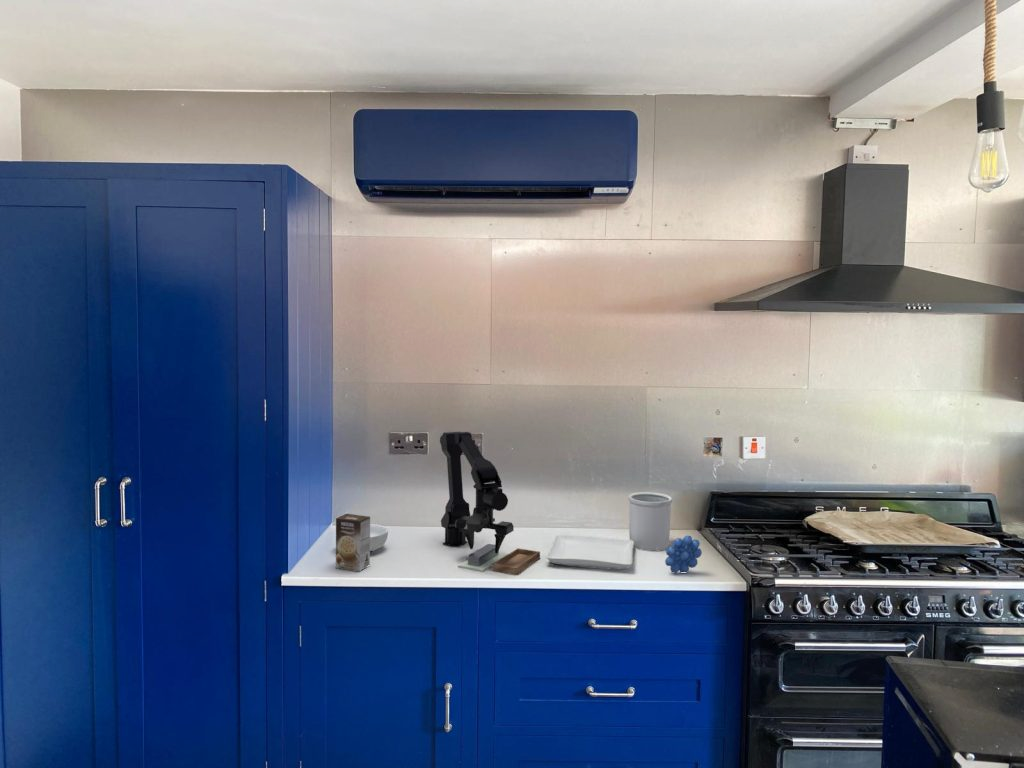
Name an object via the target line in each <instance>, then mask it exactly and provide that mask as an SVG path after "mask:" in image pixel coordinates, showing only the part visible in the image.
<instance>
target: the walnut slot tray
mask: <svg viewBox="0 0 1024 768" xmlns="http://www.w3.org/2000/svg"><path fill="white" fill-rule="evenodd" d="M539 559H541V551H538V550H537V551H536V550H533V549H532V550H530V549H525V548H515V549H514V550H513V551H511V552H509V553H508V555H506V556H505V557H503V558H502V559H500V560H499V561H497V562H496V563H494V564H493V566H492V572H495V573H501V574H502V573H503V574H508V575H512V576H513V575H514V576H518V575H519V574H521V573H522V572H524V571H525V570H526V569H528V568H529V567H530V566H532V565H533V564H534V563H536V562H537V561H538V560H539Z"/></svg>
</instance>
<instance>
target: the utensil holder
mask: <svg viewBox="0 0 1024 768" xmlns="http://www.w3.org/2000/svg"><path fill="white" fill-rule="evenodd" d="M628 500H629V501H628V502H629V506H628V507H629V513H628V514H629V515H628V516H629V525H628V526H629V527H628V528H629V530H628V531H629V532H628V533H629V540H632V541H634V546H633V549H636V550H640V549H641V550H642V551H645V550H650V551H649V552H657V551H656V550H661V551H664V549H665V550H667V548H668V547H670V536H671V535H670V533H671V532H670V531H671V508H672V507H671V505H672V502H673V498H672V496H670V495H669V494H665V493H661V492H651V491H649V492H648V491H641V492H633V493H630V494H629V495H628Z"/></svg>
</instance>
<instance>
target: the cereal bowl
mask: <svg viewBox="0 0 1024 768" xmlns="http://www.w3.org/2000/svg"><path fill="white" fill-rule="evenodd" d="M388 533H389V531H388V528H387V526H383V525H380V524H376V523H375V524H374V523H370V551H373V550H374V551H376V550H378V549H379V548H382V547H383V546H384V545H385V543H386V542H387V539H388V535H389V534H388ZM374 551H373V552H374Z"/></svg>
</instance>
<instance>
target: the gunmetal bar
mask: <svg viewBox="0 0 1024 768" xmlns="http://www.w3.org/2000/svg"><path fill="white" fill-rule="evenodd" d="M499 552H500V550H499V551H498V553H497V554H496V553H495V544H491V543H487V544H485V545H484V546H482V547H480V548H478V549H477V550H475V551H473V552H472V553H470V554H468V555H467V560H468V565H472V566H477V567H479V566H481V565H483V564H484V563H486V562H487V561H489V560H490V559H492V558H494V557H495V556H497V555H498V554H499Z"/></svg>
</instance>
